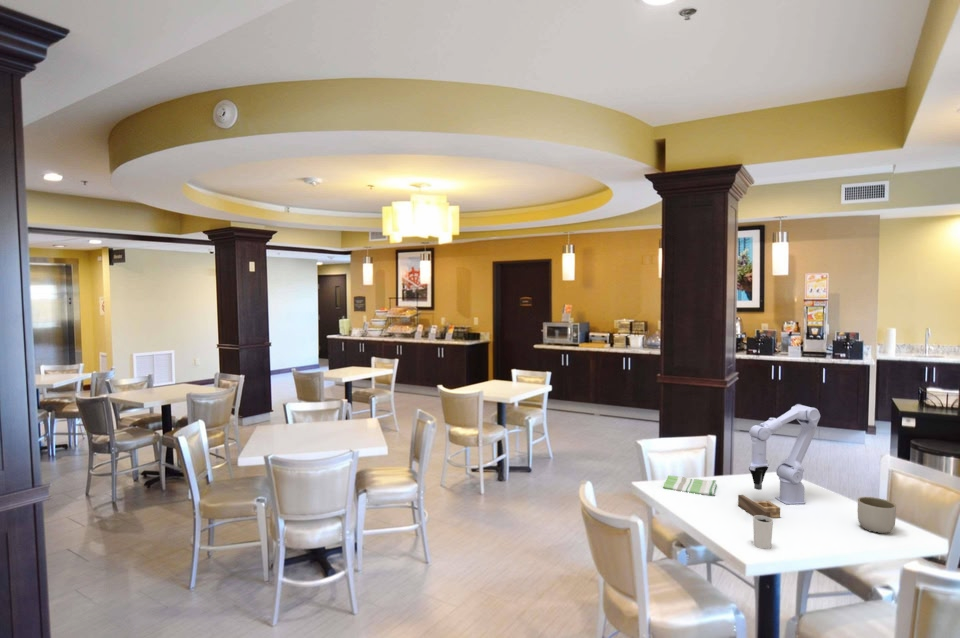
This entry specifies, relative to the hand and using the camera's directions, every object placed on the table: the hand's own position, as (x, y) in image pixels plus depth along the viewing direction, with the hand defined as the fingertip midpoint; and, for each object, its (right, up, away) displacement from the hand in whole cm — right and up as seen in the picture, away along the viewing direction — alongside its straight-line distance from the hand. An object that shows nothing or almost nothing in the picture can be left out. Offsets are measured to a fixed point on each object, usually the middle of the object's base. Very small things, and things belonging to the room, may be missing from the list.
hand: (758, 483), depth 249 cm
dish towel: (-22, -9, +22) cm, 32 cm away
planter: (+34, -11, -26) cm, 44 cm away
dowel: (0, -3, 0) cm, 2 cm away
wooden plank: (-8, -10, -12) cm, 18 cm away
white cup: (-19, -11, -42) cm, 47 cm away
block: (-3, -10, -12) cm, 16 cm away
